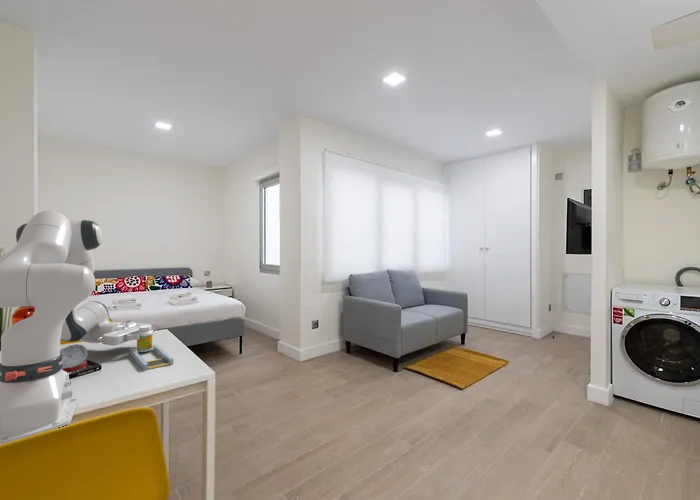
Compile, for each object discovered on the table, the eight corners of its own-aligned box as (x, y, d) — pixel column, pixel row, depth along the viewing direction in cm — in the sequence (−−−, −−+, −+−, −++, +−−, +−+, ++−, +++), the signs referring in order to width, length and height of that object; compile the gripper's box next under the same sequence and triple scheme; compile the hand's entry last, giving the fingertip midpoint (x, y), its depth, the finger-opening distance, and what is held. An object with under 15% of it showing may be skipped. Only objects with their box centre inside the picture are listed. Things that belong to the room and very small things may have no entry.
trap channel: (173, 364, 121) (173, 358, 121) (144, 370, 115) (144, 364, 115) (156, 348, 138) (156, 344, 138) (129, 353, 132) (129, 348, 132)
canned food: (87, 380, 117) (101, 356, 117) (57, 389, 107) (72, 363, 107) (66, 363, 119) (79, 339, 119) (35, 370, 109) (49, 344, 109)
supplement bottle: (139, 353, 131) (139, 328, 131) (135, 349, 134) (135, 326, 134) (154, 350, 135) (154, 326, 135) (150, 347, 138) (150, 324, 138)
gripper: (93, 332, 125) (126, 333, 124) (134, 320, 146) (162, 321, 144) (93, 348, 125) (126, 350, 124) (133, 334, 146) (162, 335, 144)
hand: (146, 334), depth 134 cm, fingers closed on supplement bottle, 5 cm apart
